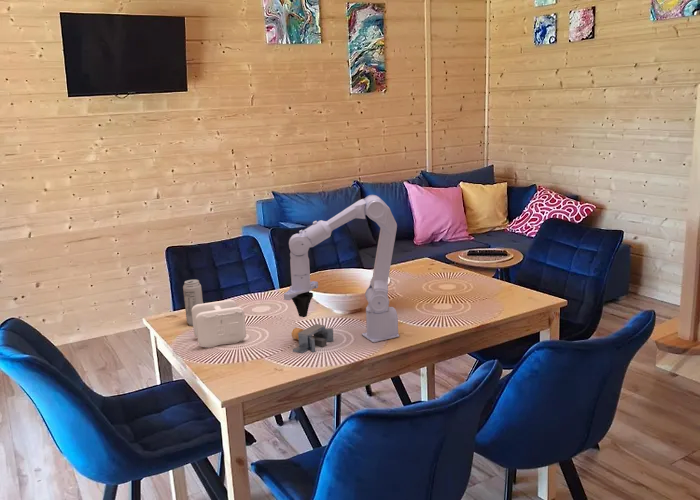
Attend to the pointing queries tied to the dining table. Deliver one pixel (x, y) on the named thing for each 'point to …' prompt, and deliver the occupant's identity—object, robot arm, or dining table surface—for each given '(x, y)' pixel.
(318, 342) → the grey and orange tool
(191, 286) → the energy drink can
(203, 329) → the cable organizer
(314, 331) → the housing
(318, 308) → the dining table surface
